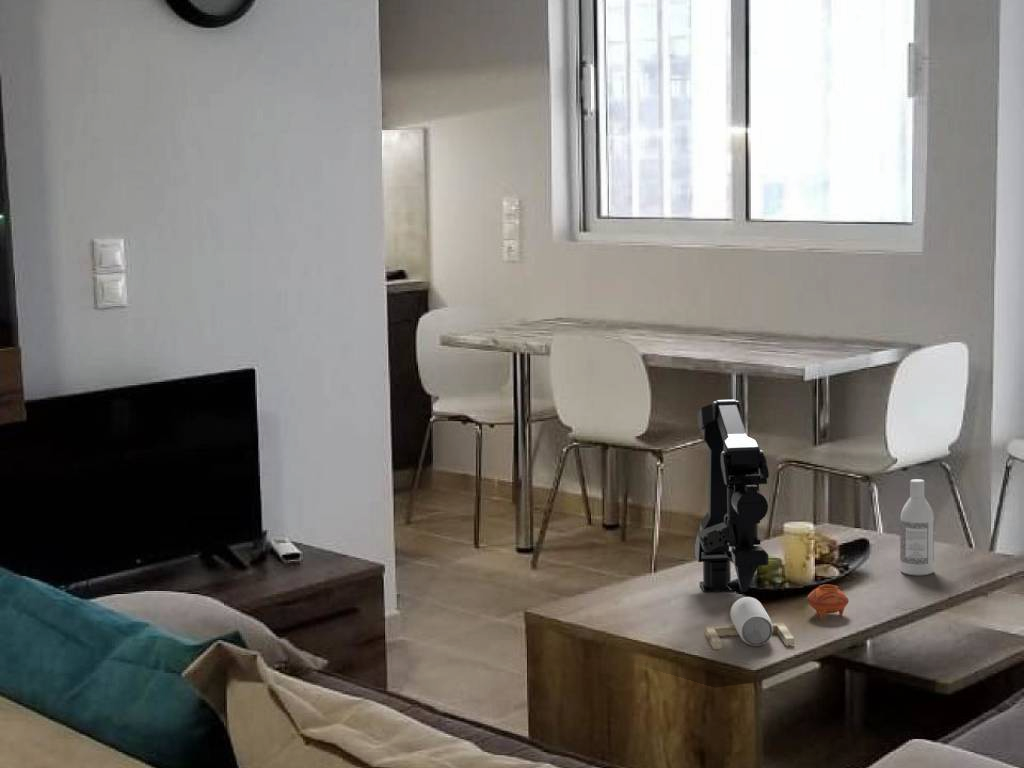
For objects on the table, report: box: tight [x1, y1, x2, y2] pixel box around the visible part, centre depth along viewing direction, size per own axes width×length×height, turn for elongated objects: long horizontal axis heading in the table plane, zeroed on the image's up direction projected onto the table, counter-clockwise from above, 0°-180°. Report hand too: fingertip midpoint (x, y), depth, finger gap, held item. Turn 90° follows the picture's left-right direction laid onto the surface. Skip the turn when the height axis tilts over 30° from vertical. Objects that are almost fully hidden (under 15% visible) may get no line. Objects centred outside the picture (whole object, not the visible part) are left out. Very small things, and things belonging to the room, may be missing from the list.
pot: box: [806, 583, 849, 621], centre depth 319 cm, size 8×8×7 cm
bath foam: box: [899, 478, 935, 576], centre depth 347 cm, size 7×7×20 cm
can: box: [730, 596, 773, 647], centre depth 306 cm, size 6×6×12 cm
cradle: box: [704, 622, 795, 650], centre depth 305 cm, size 10×15×2 cm, turn 92°
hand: (743, 590), depth 310 cm, fingers closed
